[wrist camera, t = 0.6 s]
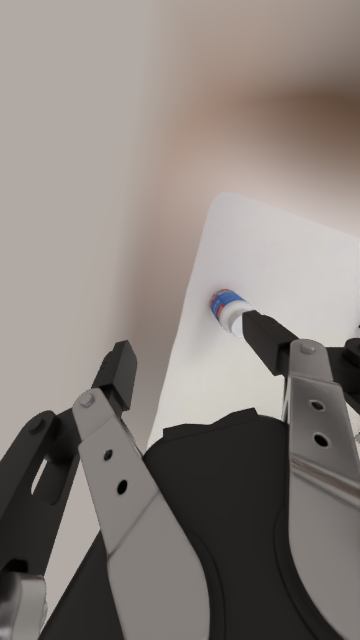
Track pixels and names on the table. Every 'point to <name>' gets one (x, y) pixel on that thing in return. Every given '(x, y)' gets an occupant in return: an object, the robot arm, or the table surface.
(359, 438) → the pencil sharpener
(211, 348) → the table surface
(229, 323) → the pill bottle
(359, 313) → the table surface
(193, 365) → the table surface
